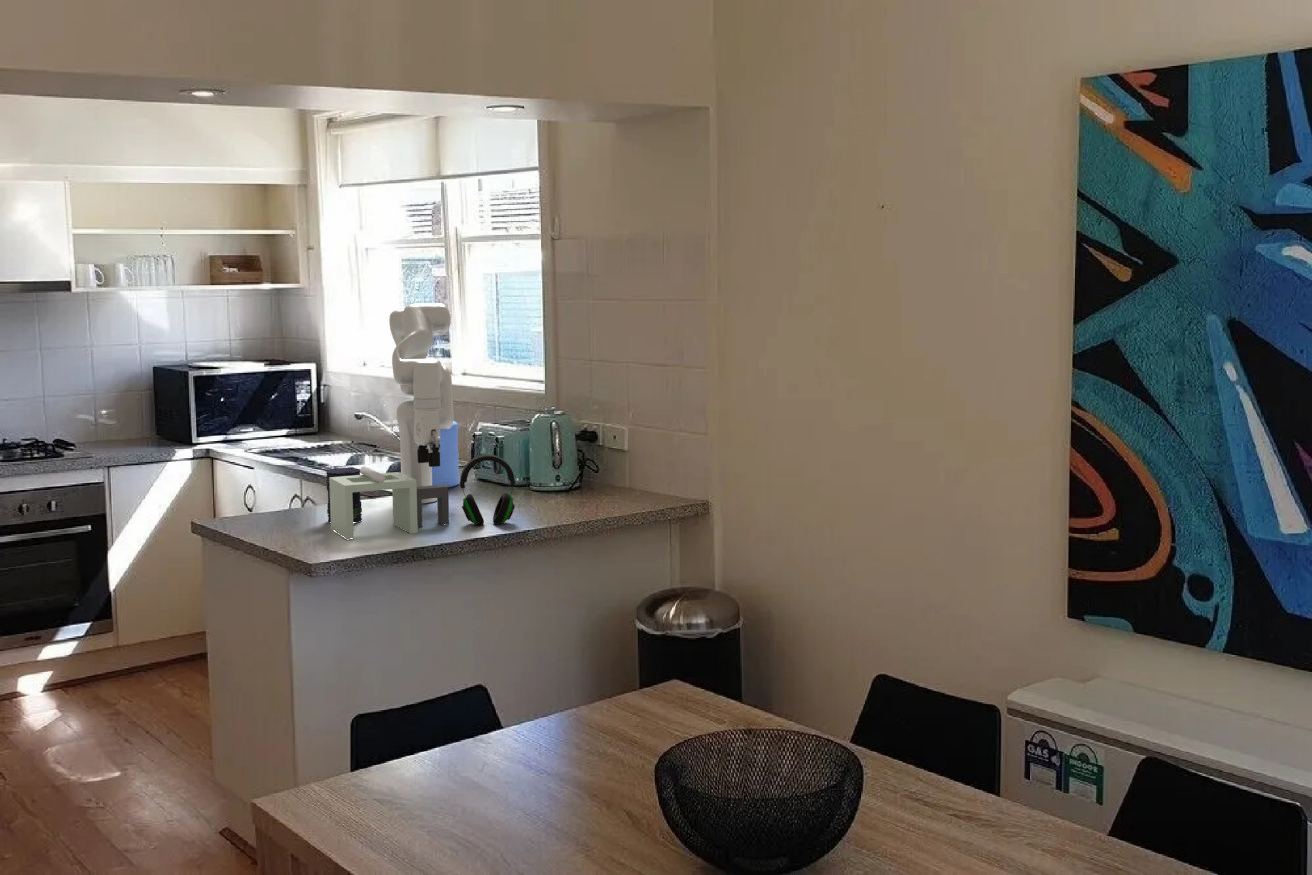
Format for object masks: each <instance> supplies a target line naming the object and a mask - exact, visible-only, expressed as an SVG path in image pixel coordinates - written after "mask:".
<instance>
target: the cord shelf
mask: <svg viewBox="0 0 1312 875" xmlns="http://www.w3.org/2000/svg"><path fill="white" fill-rule="evenodd" d="M359 469H360V475H354V476H341V477H329V484H330V513H331V524H330V530H331V529H332V530H335V531H336V532H337V533H339V534H340V535H342V536H344V537H345V538H346V539H350V538H354V539H355V536H354V534H355V533H354V531H355V530H354V528H355V527H354V524H353V497H352V492H360V493H363V492H375V491H385V490H386V491H387V490H388V491H389V490H392V491H391V492H392V493H391V494H392V522H393V523H392V524H393V525H394V524H395V525H394V526H396V527H397V526H399V527H401V528H402V529H401V528H400V529H401V530H403V529H404V530H403V531H405V530H406V531H408V532H409V533H408V532H407V533H408V534H410V533H416V534H418V528H419V527H418V526H417V487H416V480H415V479H413V478H411V477H409V476H406V475H404V474H402V473H401V471H396V472H393V471H391V472H381V473H380V472H379V471H377V470H375V469H372V468H370V467H367V466H366V465H365V466H361V468H359ZM399 527H398V528H399ZM332 530H331V531H332ZM406 531H405V532H406Z"/></svg>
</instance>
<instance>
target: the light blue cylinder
mask: <svg viewBox="0 0 1312 875" xmlns="http://www.w3.org/2000/svg"><path fill="white" fill-rule="evenodd" d="M458 426H459V424H458V422H456V421H455V420H453V425H452V427H451V428H449V429H447V430H440V466H437V467H432V485H446V486H448V488H452V487H456V486H458V485H460V475H459V470H460V469H459V458H460V456H459V455H460V454H459V439H458V438H459V428H458Z"/></svg>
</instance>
